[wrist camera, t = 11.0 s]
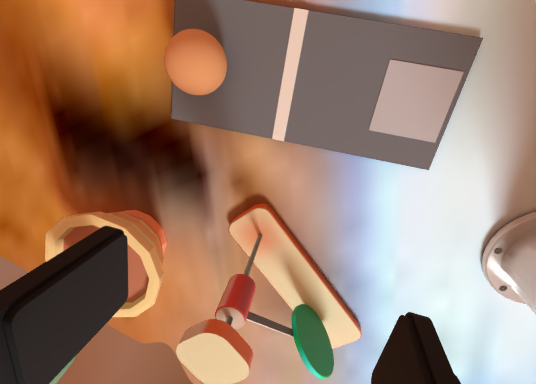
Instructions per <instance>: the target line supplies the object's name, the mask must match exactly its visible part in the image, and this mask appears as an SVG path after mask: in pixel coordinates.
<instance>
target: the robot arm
mask: <svg viewBox="0 0 536 384" xmlns="http://www.w3.org/2000/svg"><path fill="white" fill-rule="evenodd" d="M482 268H483V273H484V275H485V277H486V279H487V281H488V282H489V283H490V285H491V286H492V287H493V288H494V289H495V290H496V291H497V292H498V293H499V294H501V295H502V296H504V297H506V298H508V299H510V300H513V301H515V302H520V303H524V304H527V305H528V306H529V307H530V308H531V309H532V310H533V312H534V313H535V314H536V212H532V213H529V214H526V215H524V216H521V217H519V218H517V219H515V220H513V221H512V222H510V223H508V224H507V225H505V226H504V227H503V228H502V229H500V230H499V231H498V232H497V233H496V234H495V235H494V236H493V237H492V238H491V240H490V241H489V243H488V245H487V246H486V248H485V251H484V254H483V258H482ZM127 298H128V242H127V236H126V235H124V232H123V230H121V229H117V228H114V227H110V226H103V227H101V228H100V229H98V230H96V231H95V232H93V233H92V234H90V235H88V236H87V237H85V238H84V239H82V240H80V241H79V242H77V243H76V244H74V245H72V246H71V247H69V248H68V249H66V250H64V251H63V252H61V253H60V254H58V255H56V256H55V257H53V258H51V259H50V260H48V261H47V262H45V263H43V264H42V265H40V266H39V267H37V268H35V269H34V270H32V271H31V272H29V273H27V274H26V275H24V276H23V277H21V278H20V279H18V280H16V281H15V282H13V283H11V284H10V285H8V286H7V287H5V288H3V289H2V290H0V384H49V383H50V382H51V381H52V380H53V379H54V378H55V377H56V376H57V375H58V374H59V373H60V372H61V371H62V370H63V369H64V368H65V366H66V365H67V364H68V363H69V362H70V361H71V360H72V359H73V358H74V357H75V356H76V355H77V354H78V353H79V352H80V350H82V348H83V347H84V346H85V345H86V344H87V343H88V342H89V341H90V340H91V339H92V338H93V337H94V336H95V335H96V334H97V333H98V331H99V330H100V329H101V328H102V327H103V326H104V325H105V324H106V323H107V322H108V321H109V320H110V319H111V318H112V317H113V316H114V315H115V313H116V312H117V311H118V310H119V309H120V308H121V307H122V306H123V305H124V304H125V302H126V300H127ZM371 384H461V383H460V381H459V379H458V378H457V376H456V375H455V374H454V373H453V371H452V368H451V366H450V363H449V361H448V359H447V356H446V354H445V352H444V349H443V347H442V344H441V342H440V340H439V337H438V335H437V333H436V330H435V328H434V325H433V323H432V321H431V319H430V318H428V317H425V316H422V315H418V314H415V313H411V312H408V313H407V314H406V315H405V316H404V315H401V316H400V317H399V318H398V320H397V322H396V325H395V327H394V329H393V331H392V333H391V335H390V337H389V339H388V341H387V343H386V345H385V347H384V350H383V352H382V354H381V356H380V358H379V360H378V362H377V364H376V366H375V368H374V370H373V373H372V378H371Z"/></svg>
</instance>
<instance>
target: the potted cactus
mask: <svg viewBox="0 0 536 384" xmlns="http://www.w3.org/2000/svg"><path fill="white" fill-rule="evenodd" d="M103 226H110V227H114V228H117V229H121V230H123V232H124V235H126V236H127V242H128V298H127V300H126V302H125V304H124V305H123V306H122V307H121V308H120V309H119V310H118V311H117V312H116V313H115V315H114V316H113V317H136V316H138V315H139V314H141V313H142V312H143V311H145V310H146V309H148V308H149V307H151V306H152V305H154V304H155V301H156V299H157V296H158V293H159V289H160V285H161V281H162V277H163V273H164V272H163V270H162V263H163V259H164V253H165V249H166V245H167V240H166V237H165V234H164V231H163V228H162V227H161V226H160V225H159V224H158V223H157V222H156V221H155V220H154V219H153V218H152V217H151V216H150V215H147V214H145V213H142V212H140V211H137V210H128V211H121V212H113V213H104V212H101V211H99V212H90V213H81V214H73V215H69V216H66V217H62V218H61V219H60V220H59V221H58V222H57V223H56V225H55V226H54V227H53V228H52V229H51V230H50V231H49V232H48V233H47V234H46V249H45V260H46V262H47V261H48V260H50V259H51V258H53V257H55V256H56V255H58V254H60V253H61V252H63V251H64V250H66V249H68V248H69V247H71V246H72V245H74V244H76V243H77V242H79V241H80V240H82V239H84V238H85V237H87V236H88V235H90V234H92V233H93V232H95V231H96V230H98V229H100V228H101V227H103ZM75 357H76V356H75ZM75 357H74V358H73V359H72V360H71V361H70V362H69V363H68V364H67V365H66V366H65V368H64V369H63V370H62V371H61V372H60V373H59V374H58V375H57V376H56V377H55V378H54V379H53V380H52V381H51V382H50V383H49V384H56V383H57V382H58V380H59V379H60V378H61V376H62V375H63V374H64V373H65V371H66V370H67V369H68V367H69V366H70V365H71V363H72V362H73V361H74V359H75Z"/></svg>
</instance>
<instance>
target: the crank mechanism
mask: <svg viewBox="0 0 536 384" xmlns="http://www.w3.org/2000/svg"><path fill="white" fill-rule="evenodd" d="M229 233H230V234H231V236H232V237H233V238H234V240H235V241H236V242H237V243H238V245H239V246H240V247H241V248H242V249H243V251H244V252H245V253H246V254H247V255H248V257H249V261H248V264H247V266H246V269H245V271H244V274H236V275H234V276H232V277H231V278H230V280H229V282H228V285H227V287H226V289H225V292H224V294H223V296H222V298H221V301H220V303H219V305H218V308H217V310H216V312H215V317H216V319H209V320H205V321H203V322H201V323H199V324H197V325H195V326H193V327H191V328H189V329H188V330H186V331H185V333H184V335H183V337H182V339H181V341H180V343H179V345H178V347H177V348H176V354H177V356H178V358H179V360H180V361H181V362H182V363H183V364H184V365H185V366H186V367H187V368H188V369H189V370H190V371H191V372H192V373H193V374H194V375H195V376H196V377H197V378H198V379H199V380H200V381H201V382H203V383H205V384H233V383H236V382H238V381H241V380H243V379H245V378H246V377H247V376H248V375H249V371H250V366H251V362H252V358H253V352H252V349H251V348H250V346H249V345H248V344H247V343H246V342H245V340H244V339H243V338H242V337H241V336H240V335H239V334H238V333H237V332H236V329H240V328H241V327H243V326H244V324H245V322H246V320H249V321H252V322H254V323H257V324H259V325H262V326H265V327H267V328H270V329H273V330H275V331H278V332H281V333H283V334H286V335H288V336H291V337H294V340H295V344H296V347H297V349H298V352H299V354H300V356H301V358H302V360H303V362H304V364H305V365H306V367H307V368H308V370H309V371H310V372H311V373H312V374H313V375H314V376H315V377H317V378H319V379H324V378H327V377H329V376H330V375H331V374H332V371H333V366H334V359H333V351H332V349H333V348H336V347H339V346H342V345H345V344H348V343H350V342H353V341H356V340H358V339H359V338H360V337H361V327H360V324H359V323H358V321H357V320H356V319H355V317H354V316H353V315H352V313H351V312H350V311H349V309H348V308H347V307H346V305H345V304H344V303H343V301H342V300H341V299H340V297H339V296H338V295H337V294H336V292H335V291H334V290H333V288H332V287H331V286H330V284H329V283H328V282H327V280H326V279H325V278H324V276H323V275H322V274H321V272H320V271H319V270H318V268H317V267H316V266H315V264H314V263H313V262H312V261H311V259H310V258H309V257H308V255H307V254H306V253H305V251H304V250H303V249H302V247H301V246H300V245H299V243H298V242H297V241H296V239H295V238H294V237H293V235H292V234H291V233H290V231H289V230H288V229H287V228H286V226H285V225H284V224H283V222H282V221H281V220H280V218H279V217H278V216H277V214H276V213H275V212H274V210H273V209H272V208H271V207H270V206H269V205H267V204H264V203H258V204H256V205H254V206H253V207H251V208H249V209H248V210H246V211H245V212H243V213H241V214H240V215H238V216H237V217H235V218H234V219H233V220H232V222H231V223H230V225H229ZM253 263H254V264H255V265H256V266H257V268H258V269H259V270H260V271H261V273H262V274H263V275H264V276H265V277H266V279H267V280H268V281H269V282H270V284H271V285H272V286H273V287H274V288H275V290H276V291H277V292H278V293H279V295H280V296H281V297H282V298H283V299H284V301H285V302H286V303H287V304H288V306H289V307H290V308H291V309H292V310H293V314H292V329H290V328H288V327H285V326H283V325H281V324H278V323H276V322H273V321H271V320H268V319H266V318H263V317H261V316H259V315H256V314H254V313H251V312H249V308H250V305H251V302H252V298H253V295H254V292H255V283H254V281H253V280H252V279H251V278H250V277H249V273H250V270H251V267H252V264H253Z"/></svg>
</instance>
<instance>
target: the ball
mask: <svg viewBox="0 0 536 384" xmlns="http://www.w3.org/2000/svg"><path fill="white" fill-rule="evenodd" d="M164 59H165V67H166V70H167V73H168V75H169V77H170V79H171V80H172V82H173V83H174V84H175V85H176V86H177V87H178V88H179V89H181V90H182V91H184V92H186V93H189V94H192V95H206V94H209V93H211V92H213V91H215V90H216V89H217V88H218V87H219V86H220V85H221V84H222V82H223V81H224V78H225V76H226V71H227V59H226V55H225V52H224V50H223V48H222V46H221V44H220V43H219V42H218V41H217V39H216V38H215V37H213V36H212V35H211V34H209V33H207V32H205V31H203V30H199V29H186V30H183V31H180V32H179V33H177V34H176V35H174V36H173V37H172V39H171V40H170V41H169V43H168V45H167V47H166V50H165V58H164Z"/></svg>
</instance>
